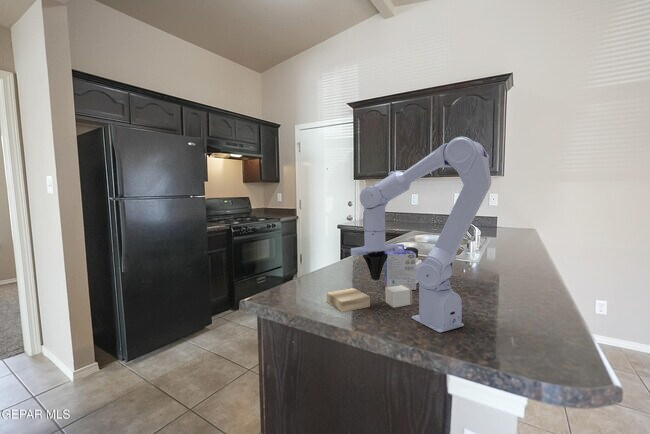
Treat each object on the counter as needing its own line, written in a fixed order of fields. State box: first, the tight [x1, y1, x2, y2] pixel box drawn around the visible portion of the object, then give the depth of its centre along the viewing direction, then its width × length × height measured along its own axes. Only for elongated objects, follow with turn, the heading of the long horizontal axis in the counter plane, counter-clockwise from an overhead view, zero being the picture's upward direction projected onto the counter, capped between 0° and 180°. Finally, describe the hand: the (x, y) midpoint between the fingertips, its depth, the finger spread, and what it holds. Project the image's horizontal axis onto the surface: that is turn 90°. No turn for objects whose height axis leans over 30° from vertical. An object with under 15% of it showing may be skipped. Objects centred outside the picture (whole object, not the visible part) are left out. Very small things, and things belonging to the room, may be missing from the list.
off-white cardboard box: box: [384, 285, 413, 308], centre depth 88 cm, size 5×5×6 cm
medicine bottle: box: [404, 246, 423, 285], centre depth 110 cm, size 7×7×12 cm
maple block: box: [326, 287, 371, 313], centre depth 87 cm, size 9×9×3 cm
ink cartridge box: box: [383, 243, 417, 291], centre depth 102 cm, size 10×6×14 cm, turn 90°
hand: (375, 279), depth 85 cm, fingers closed
